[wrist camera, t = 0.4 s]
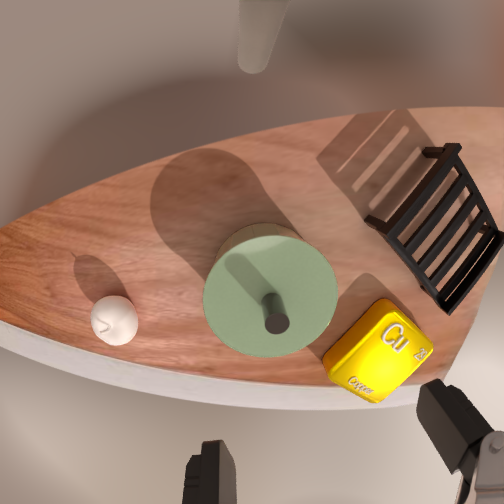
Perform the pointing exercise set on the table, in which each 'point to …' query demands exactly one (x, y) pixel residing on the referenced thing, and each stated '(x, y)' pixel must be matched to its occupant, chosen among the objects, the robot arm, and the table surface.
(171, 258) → the table surface
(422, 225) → the rack
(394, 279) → the table surface
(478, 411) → the robot arm
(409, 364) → the element tile
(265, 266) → the lid
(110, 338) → the apple
